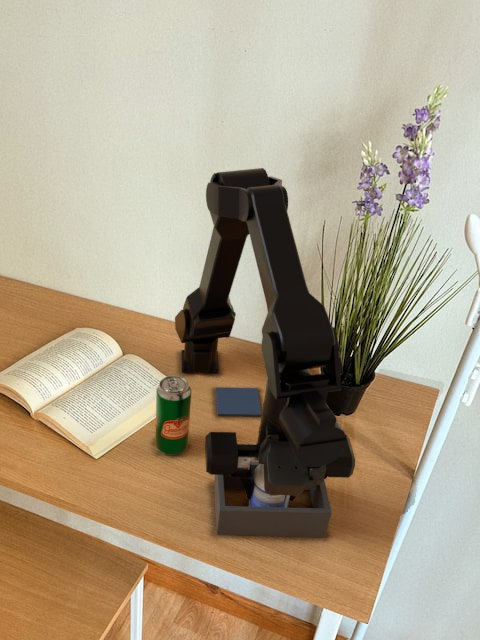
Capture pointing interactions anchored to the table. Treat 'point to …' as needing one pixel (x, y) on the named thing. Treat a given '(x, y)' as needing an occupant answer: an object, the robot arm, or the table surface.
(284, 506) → the pill bottle
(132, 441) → the table surface
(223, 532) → the tub
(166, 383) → the soda can
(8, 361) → the table surface
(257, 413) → the mat
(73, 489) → the table surface
